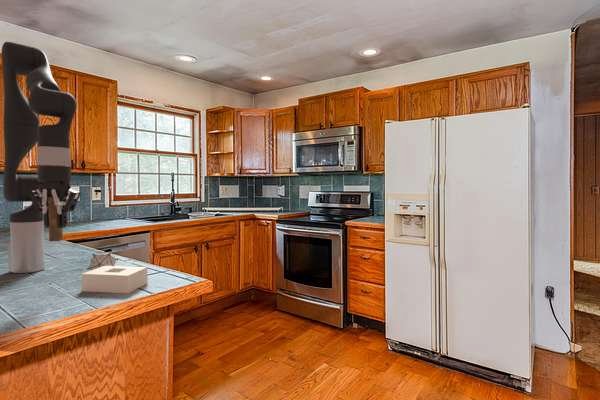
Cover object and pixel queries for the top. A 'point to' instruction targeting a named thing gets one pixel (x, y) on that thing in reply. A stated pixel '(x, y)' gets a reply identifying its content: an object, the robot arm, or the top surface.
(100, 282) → the hole block
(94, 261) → the game die
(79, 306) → the top surface
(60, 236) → the peg
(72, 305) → the top surface
